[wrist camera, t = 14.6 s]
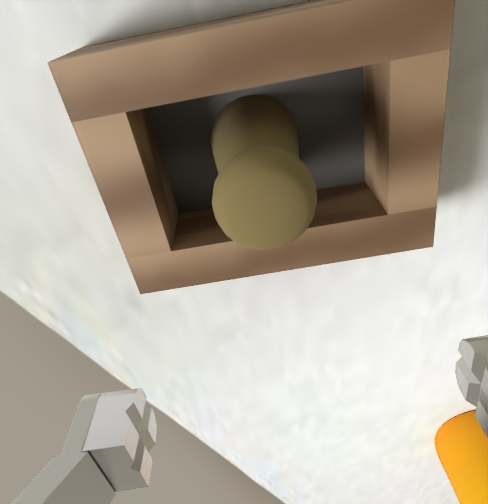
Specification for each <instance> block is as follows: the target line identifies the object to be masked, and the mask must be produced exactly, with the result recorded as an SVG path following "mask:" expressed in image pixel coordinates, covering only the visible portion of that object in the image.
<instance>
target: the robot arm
mask: <svg viewBox="0 0 488 504" xmlns="http://www.w3.org/2000/svg"><path fill="white" fill-rule="evenodd" d="M458 351H459V352H460V354H461V355H462V357H461V358H460V359H459V360H458V361H457V362H456V371H455V372H456V378H457V383H458V385H459V388H460V390H461V392H462V394H463V396H464V398H465V400H466V401H468V402H470V403H471V404H473V405H474V406H476V407H477V408H476V413H475V417H476V419H477V421H478V422H479V424H480V426H481V427H482V429H483V431H484V433H485V434H486V436H487V438H488V335H486V336H480V337H474V338H468V339H462V340H461V342H460V343H459V349H458ZM145 401H146V395H145V393H144V391H143V390H142V389H131V390H123V391H115V392H107V393H100V394H92V395H85V396H83V398H82V399H81V400H80V402H79V404H78V407H77V410H76V413H75V415H74V418H73V421H72V424H71V427H70V430H69V432H68V435H67V438H66V441H65V444H64V446H63V449H62V452H61V455H60V456H55V457H54V458H53V459H52V460H51V461H50V462H49V463H48V464H47V465H46V466H45V467H44V468H43V469H42V470H41V472H39V474H38V475H37V476H36V477H35V478H34V479H33V480H32V481H31V482H30V483H29V484H28V485H27V486H26V487H25V488H24V489H23V490H22V492H21V493H20V494H19V495H18V496H17V497H16V498H15V499H14V500H13V501H12V502H11V503H10V504H110V502H111V501H112V499H113V498H114V496H115V495H116V493H115V492H117V491H124V490H130V489H136V488H142V487H148V485H149V479H150V473H151V467H152V458H151V457H150V455H149V453H148V452H149V451H150V449H151V448H152V447H153V445H154V444H155V440H156V433H157V431H156V418H155V415H154V412H153V410H152V407H150V406H148V405H147V404H145Z"/></svg>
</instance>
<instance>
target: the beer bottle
mask: <svg viewBox="0 0 488 504" xmlns="http://www.w3.org/2000/svg"><path fill="white" fill-rule="evenodd" d="M475 413H476V410H475V411H470V412H467V413H463V414H461V415H458V416H456V417H454V418H452V419H450V420H449V421H447V422H446V423H445V424H443V425H442V426H441V427H440V429H439V430H438V431H437V434H436V436H435V447H436V451H437V455H438V457H439V460H440V462H441V464H442V466H443V468H444V470H445V472H446V474H447V476H448V478H449V480H450V482H451V485H452V487H453V489H454V491H455V494H456V496H457V498H458V500H459V503H460V504H488V438H487V436H486V434H485V433H484V431H483V429H482V427H481V426H480V424H479V422H478V421H477V419H476V417H475Z"/></svg>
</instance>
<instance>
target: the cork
mask: <svg viewBox="0 0 488 504" xmlns="http://www.w3.org/2000/svg"><path fill="white" fill-rule="evenodd" d="M210 144H211V148H212V153H213V157H214V160H215V163H216V167H217V170H218V173H219V174H218V176H217V178H216V180H215V182H214V187H213V197H212V207H213V211H214V215H215V218H216V220H217V222H218V224H219V225H220V227H221V228H222V230H223V231H224V233H225V234H226V235H227V236H228V237H229V238H231V239H232V240H233V241H234V242H236V243H237V244H240V245H242V246H245V247H248V248H250V249H256V250H271V249H277V248H281V247H283V246H285V245H287V244H289V243H292V242H293V241H295V240H296V239H297V238H298V237H299V236H300V235H302V234H303V233H304V232H305V231H306V229H307V228H308V226H309V225H310V223H311V221H312V220H313V217H314V213H315V209H316V205H317V192H316V184H315V182H314V180H313V178H312V176H311V174H310V172H309V170H308V168H307V166H306V165H305V164H304V163H303V162H302V161H301V160H300V159H299V148H298V134H297V125H296V123H295V121H294V119H293V117H292V115H291V113H290V112H289V111H288V110H287V109H286V108H285V107H284V105H283V104H282V103H280V102H278V101H276V100H274V99H272V98H270V97H268V96H262V95H254V94H253V95H248V96H243V97H239V98H237V99H235V100H234V101H232V102H230V103H228V104H227V105H226V106H225V107H224V108H223V109H222V110H221V111H220V112H219V113H218V115H217V116H216V118H215V121H214V123H213V125H212V128H211V136H210Z"/></svg>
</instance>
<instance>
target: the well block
mask: <svg viewBox="0 0 488 504" xmlns="http://www.w3.org/2000/svg"><path fill="white" fill-rule="evenodd" d="M454 4H455V0H312V1H307V2H303V3H298V4H293V5H288V6H283V7H278V8H273V9H269V10H264V11H259V12H254V13H249V14H244V15H239V16H234V17H230V18H225V19H220V20H215V21H210V22H205V23H200V24H196V25H191V26H186V27H181V28H176V29H171V30H166V31H161V32H157V33H152V34H147V35H142V36H137V37H132V38H127V39H122V40H118V41H113V42H108V43H103V44H98V45H93V46H88V47H84V48H80V49H77V50H75V51H73V52H70V53H68V54H66V55H64V56H61V57H59V58H57V59H55V60H52V61H50V62H48V65H49V68H50V70H51V73H52V75H53V78H54V80H55V83H56V85H57V88H58V90H59V93H60V95H61V98H62V100H63V103H64V105H65V108H66V110H67V113H68V115H69V118H70V120H71V123H72V125H73V128H74V130H75V132H76V135H77V137H78V140H79V142H80V145H81V147H82V150H83V152H84V155H85V157H86V160H87V162H88V165H89V167H90V170H91V172H92V175H93V177H94V180H95V182H96V185H97V187H98V190H99V192H100V195H101V197H102V200H103V202H104V205H105V207H106V210H107V212H108V215H109V217H110V220H111V222H112V224H113V227H114V229H115V232H116V234H117V237H118V239H119V242H120V244H121V247H122V249H123V252H124V254H125V257H126V259H127V262H128V264H129V267H130V269H131V272H132V274H133V277H134V279H135V282H136V284H137V287H138V289H139V292H140V294H144V293H151V292H157V291H163V290H169V289H175V288H181V287H187V286H194V285H200V284H206V283H212V282H218V281H224V280H230V279H237V278H243V277H249V276H255V275H261V274H267V273H274V272H280V271H286V270H292V269H298V268H304V267H310V266H317V265H323V264H329V263H335V262H341V261H347V260H354V259H360V258H366V257H372V256H378V255H384V254H390V253H397V252H403V251H409V250H415V249H421V248H427V247H433V242H434V230H435V219H436V208H437V196H438V185H439V174H440V162H441V151H442V140H443V128H444V117H445V106H446V94H447V83H448V72H449V60H450V49H451V38H452V26H453V15H454ZM253 94H254V95H262V96H268V97H270V98H272V99H274V100H276V101H278V102H280V103H282V104H283V105H284V107H285V108H286V109H287V110H288V111H289V112H290V113H291V115H292V117H293V119H294V121H295V123H296V125H297V134H298V148H299V159H300V160H301V161H302V162H303V163H304V164H305V165H306V166H307V168H308V170H309V172H310V174H311V176H312V178H313V180H314V182H315V184H316V192H317V205H316V209H315V213H314V217H313V220H312V221H311V223H310V225H309V226H308V228H307V229H306V231H305V232H304V233H303V234H302V235H300V236H299V237H298V238H297V239H296V240H295V241H293V242H292V243H289V244H287V245H285V246H283V247H281V248H277V249H271V250H256V249H250V248H248V247H245V246H242V245H240V244H237V243H236V242H234V241H233V240H232V239H231V238H229V237H228V236H227V235H226V234H225V233H224V231H223V230H222V228H221V227H220V225H219V224H218V222H217V220H216V218H215V215H214V211H213V207H212V197H213V187H214V182H215V180H216V178H217V176H218V174H219V173H218V170H217V167H216V163H215V160H214V157H213V153H212V148H211V144H210V136H211V128H212V125H213V123H214V121H215V118H216V116H217V115H218V113H219V112H220V111H221V110H222V109H223V108H224V107H225V106H226V105H227V104H228V103H230V102H232V101H234V100H235V99H237V98H239V97H243V96H248V95H253Z"/></svg>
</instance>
